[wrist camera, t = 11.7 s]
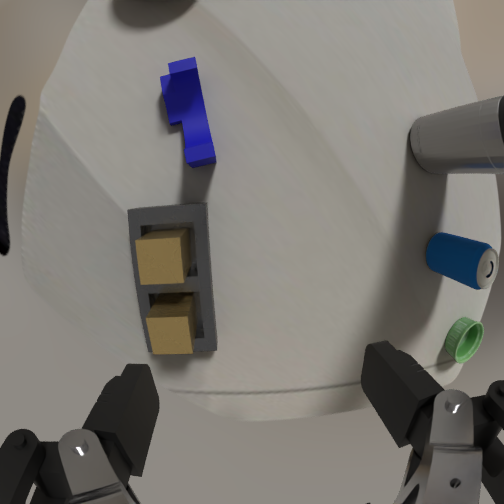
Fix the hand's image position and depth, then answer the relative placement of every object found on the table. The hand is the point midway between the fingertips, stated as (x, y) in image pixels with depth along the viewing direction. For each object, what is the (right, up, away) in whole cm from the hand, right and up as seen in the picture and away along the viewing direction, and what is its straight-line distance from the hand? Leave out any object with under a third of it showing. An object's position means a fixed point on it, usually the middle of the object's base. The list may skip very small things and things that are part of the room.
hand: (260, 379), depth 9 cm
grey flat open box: (-10, +1, +26) cm, 27 cm away
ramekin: (+41, -12, +34) cm, 55 cm away
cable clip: (-8, +21, +22) cm, 31 cm away
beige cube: (-10, +5, +24) cm, 27 cm away
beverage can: (+30, +5, +30) cm, 42 cm away
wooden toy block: (-10, -3, +26) cm, 28 cm away
